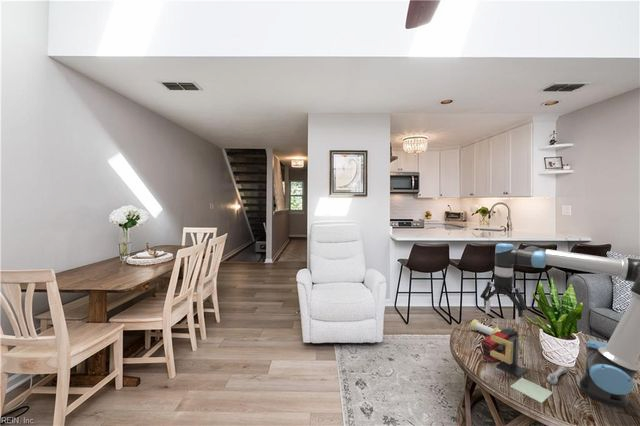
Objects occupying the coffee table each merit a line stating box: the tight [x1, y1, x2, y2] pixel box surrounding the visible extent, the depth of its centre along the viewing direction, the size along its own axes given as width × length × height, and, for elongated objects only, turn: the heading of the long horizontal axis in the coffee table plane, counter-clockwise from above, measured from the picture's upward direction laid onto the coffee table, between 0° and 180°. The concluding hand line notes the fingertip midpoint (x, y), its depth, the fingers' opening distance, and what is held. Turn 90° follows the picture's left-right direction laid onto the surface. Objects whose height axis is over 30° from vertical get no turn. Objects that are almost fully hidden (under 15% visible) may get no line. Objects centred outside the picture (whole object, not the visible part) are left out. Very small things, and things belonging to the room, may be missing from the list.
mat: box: [509, 377, 554, 404], centre depth 125 cm, size 12×12×1 cm
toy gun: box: [480, 326, 520, 364], centre depth 151 cm, size 5×24×15 cm, turn 112°
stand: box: [495, 336, 528, 379], centre depth 137 cm, size 10×17×16 cm, turn 122°
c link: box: [490, 335, 513, 364], centre depth 135 cm, size 9×2×10 cm, turn 32°
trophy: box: [470, 318, 525, 353], centre depth 170 cm, size 8×8×30 cm
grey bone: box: [546, 365, 568, 386], centre depth 133 cm, size 18×5×4 cm
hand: (502, 317), depth 135 cm, fingers open, 13 cm apart
